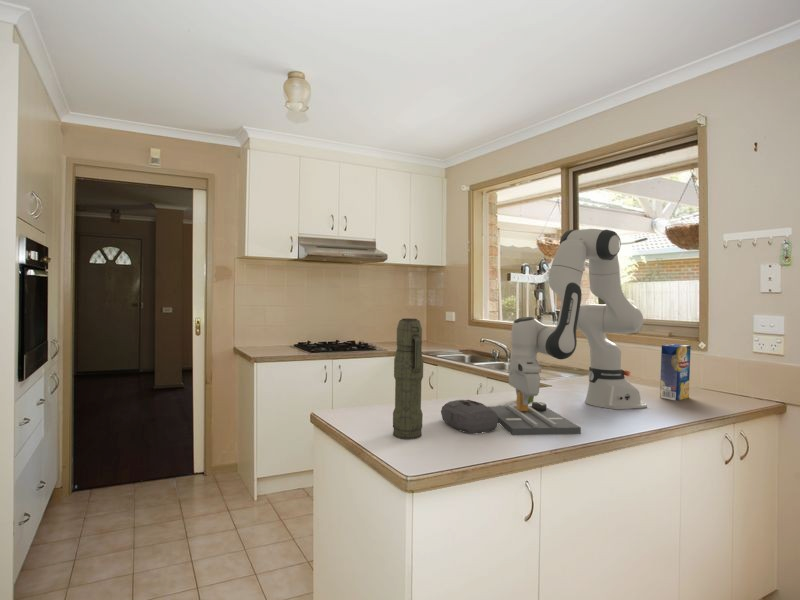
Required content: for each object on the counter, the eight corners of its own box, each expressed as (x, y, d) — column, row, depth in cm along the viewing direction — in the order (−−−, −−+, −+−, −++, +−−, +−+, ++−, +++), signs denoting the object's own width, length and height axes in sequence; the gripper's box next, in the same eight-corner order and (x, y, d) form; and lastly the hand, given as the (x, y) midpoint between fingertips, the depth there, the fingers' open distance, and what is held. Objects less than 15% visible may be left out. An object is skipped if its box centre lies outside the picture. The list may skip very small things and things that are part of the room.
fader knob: (524, 409, 177) (525, 391, 176) (528, 411, 174) (528, 393, 174) (516, 409, 176) (516, 391, 176) (519, 411, 173) (519, 393, 173)
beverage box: (688, 397, 212) (690, 345, 211) (676, 400, 205) (678, 347, 205) (672, 394, 217) (673, 344, 217) (659, 397, 211) (661, 345, 210)
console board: (543, 411, 183) (544, 399, 183) (580, 433, 156) (581, 420, 155) (485, 411, 181) (485, 400, 180) (512, 435, 153) (512, 421, 153)
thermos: (407, 442, 143) (409, 320, 142) (384, 432, 153) (386, 318, 152) (431, 437, 149) (433, 319, 148) (407, 428, 158) (409, 317, 157)
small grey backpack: (504, 431, 157) (469, 416, 175) (505, 405, 157) (470, 392, 175) (463, 436, 151) (431, 420, 169) (464, 409, 151) (432, 395, 169)
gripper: (504, 359, 184) (503, 396, 185) (525, 368, 164) (524, 410, 165) (521, 359, 185) (520, 396, 186) (543, 368, 165) (542, 410, 165)
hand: (522, 403), depth 175 cm, fingers closed on fader knob, 3 cm apart
